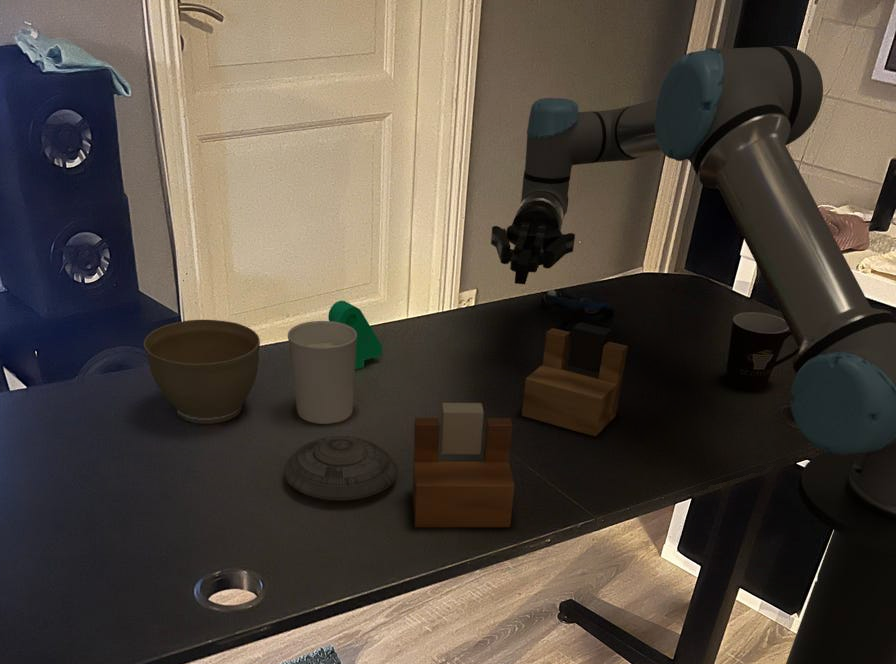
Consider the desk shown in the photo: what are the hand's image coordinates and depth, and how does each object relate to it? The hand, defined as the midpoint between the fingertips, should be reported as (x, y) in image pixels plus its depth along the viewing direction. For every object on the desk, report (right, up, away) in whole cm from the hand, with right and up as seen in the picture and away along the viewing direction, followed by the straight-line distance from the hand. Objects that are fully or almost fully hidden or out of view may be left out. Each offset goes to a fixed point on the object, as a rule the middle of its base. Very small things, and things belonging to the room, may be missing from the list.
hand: (520, 274), depth 135 cm
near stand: (-9, -34, -10) cm, 37 cm away
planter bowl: (-45, -17, +9) cm, 49 cm away
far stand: (+8, -17, +11) cm, 22 cm away
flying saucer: (-25, -30, -5) cm, 39 cm away
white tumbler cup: (-28, -17, +10) cm, 34 cm away
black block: (+11, -10, +11) cm, 18 cm away
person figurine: (+15, +7, +41) cm, 44 cm away
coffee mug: (+40, -10, +22) cm, 47 cm away
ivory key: (-9, -26, -11) cm, 30 cm away
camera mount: (-27, -6, +24) cm, 37 cm away
